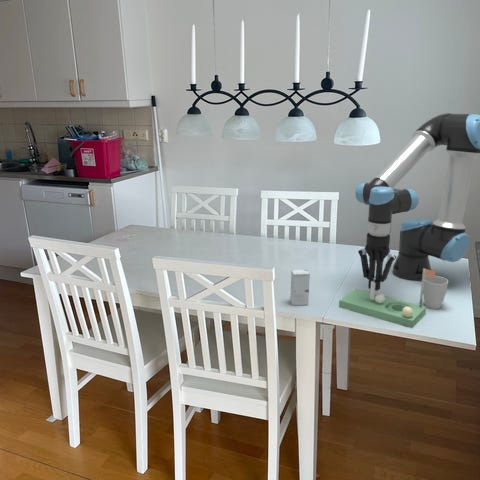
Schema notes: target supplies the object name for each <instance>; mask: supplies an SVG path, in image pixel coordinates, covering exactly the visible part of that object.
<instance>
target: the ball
mask: <svg viewBox="0 0 480 480" xmlns="http://www.w3.org/2000/svg"><path fill="white" fill-rule="evenodd" d="M384 296H385V295H384V294H382V293H377V295H376V296H375V301H376V302H377V303H383V302H384V301H385V297H384Z"/></svg>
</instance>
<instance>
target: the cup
mask: <svg viewBox="0 0 480 480" xmlns="http://www.w3.org/2000/svg"><path fill="white" fill-rule="evenodd" d="M448 285H449V280H448V279H447V278H446V277H442V276H439V275H435V278H431V277H427V276H425V280H424V289H423V298H422V299H423V302H424V306H425V307H426V308H428V309H431V310H437V309H440V308H441V307H442V305H443V302H444V300H445V297H446V295H447V290H448Z"/></svg>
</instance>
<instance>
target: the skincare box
mask: <svg viewBox="0 0 480 480" xmlns="http://www.w3.org/2000/svg"><path fill="white" fill-rule="evenodd" d="M310 275H311V273H310V272H309V270H308V269H291V272H290V298H289V300H290V304H291V303H292V304H291V306H308V305H309V294H310V291H309V290H310V277H311V276H310ZM307 304H308V305H307Z"/></svg>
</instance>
